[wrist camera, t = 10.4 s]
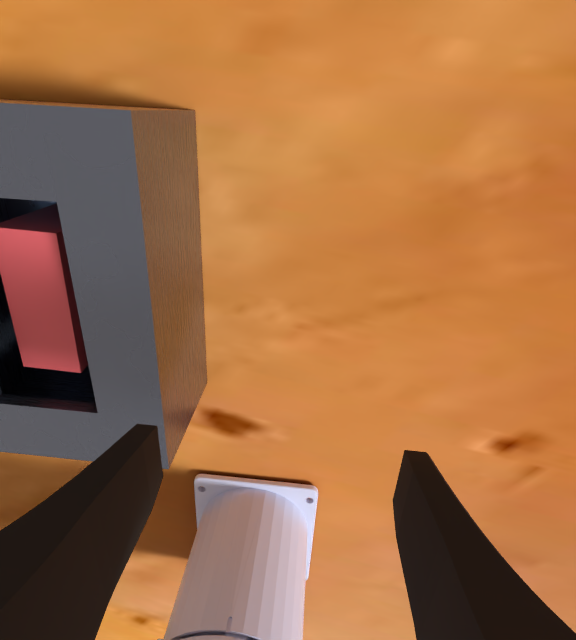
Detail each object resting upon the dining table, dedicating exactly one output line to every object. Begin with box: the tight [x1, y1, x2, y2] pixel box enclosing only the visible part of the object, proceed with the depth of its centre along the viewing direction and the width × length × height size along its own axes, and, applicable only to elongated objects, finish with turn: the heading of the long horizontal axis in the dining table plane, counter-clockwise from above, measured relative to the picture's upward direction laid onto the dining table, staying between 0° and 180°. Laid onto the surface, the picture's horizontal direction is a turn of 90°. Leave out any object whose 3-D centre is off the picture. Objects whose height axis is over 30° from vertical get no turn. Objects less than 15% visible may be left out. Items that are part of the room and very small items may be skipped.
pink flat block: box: [0, 203, 88, 373], centre depth 19 cm, size 6×2×5 cm, turn 176°
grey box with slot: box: [0, 99, 207, 469], centre depth 18 cm, size 14×10×6 cm
